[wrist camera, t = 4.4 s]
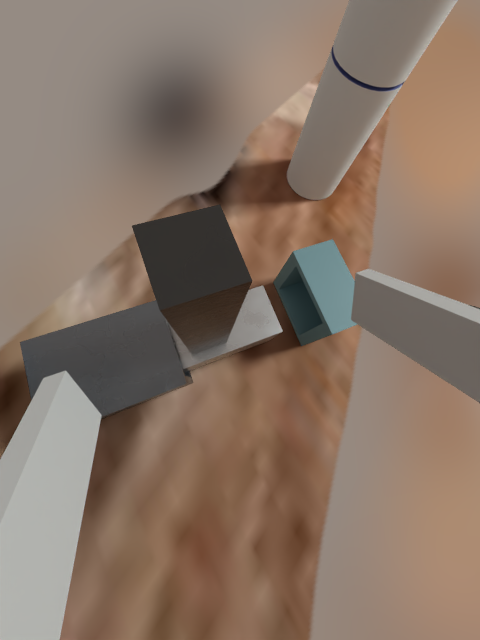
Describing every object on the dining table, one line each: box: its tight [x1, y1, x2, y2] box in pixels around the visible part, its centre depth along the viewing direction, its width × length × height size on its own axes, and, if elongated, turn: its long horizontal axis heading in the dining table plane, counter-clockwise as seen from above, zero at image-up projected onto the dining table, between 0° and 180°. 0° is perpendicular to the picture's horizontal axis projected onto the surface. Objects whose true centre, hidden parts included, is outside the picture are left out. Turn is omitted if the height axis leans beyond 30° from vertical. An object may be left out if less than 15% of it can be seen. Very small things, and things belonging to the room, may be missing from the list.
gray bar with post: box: [132, 205, 283, 373], centre depth 15 cm, size 18×5×17 cm, turn 111°
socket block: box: [273, 239, 357, 346], centre depth 24 cm, size 4×8×7 cm, turn 21°
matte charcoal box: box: [20, 300, 193, 419], centre depth 20 cm, size 10×7×7 cm
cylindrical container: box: [287, 0, 457, 200], centre depth 21 cm, size 7×7×25 cm
